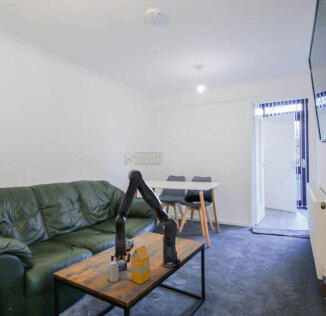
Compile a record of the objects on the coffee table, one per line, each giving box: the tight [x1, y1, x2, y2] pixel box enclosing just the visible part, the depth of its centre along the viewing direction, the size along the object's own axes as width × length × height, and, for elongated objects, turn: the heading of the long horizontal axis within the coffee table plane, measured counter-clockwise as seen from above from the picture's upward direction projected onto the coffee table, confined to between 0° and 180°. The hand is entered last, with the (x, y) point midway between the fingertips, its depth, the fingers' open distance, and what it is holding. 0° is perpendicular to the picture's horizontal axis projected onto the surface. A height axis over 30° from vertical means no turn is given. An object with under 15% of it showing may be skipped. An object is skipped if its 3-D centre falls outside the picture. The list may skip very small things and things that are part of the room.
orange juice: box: [130, 244, 150, 285], centre depth 152 cm, size 8×9×20 cm
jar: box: [109, 260, 119, 283], centre depth 151 cm, size 5×5×11 cm
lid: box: [118, 261, 125, 270], centre depth 165 cm, size 6×6×2 cm
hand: (120, 269), depth 165 cm, fingers closed on lid, 6 cm apart
